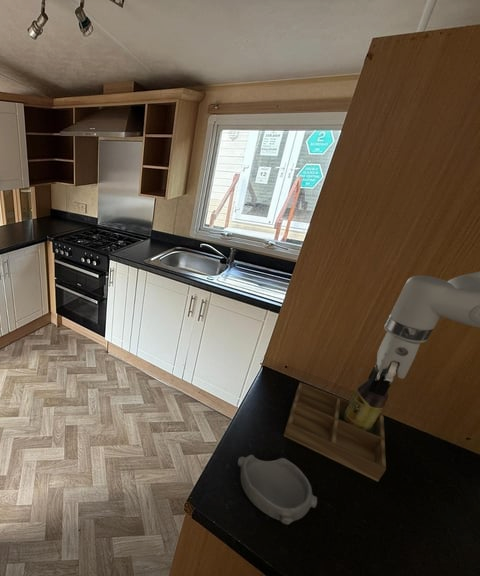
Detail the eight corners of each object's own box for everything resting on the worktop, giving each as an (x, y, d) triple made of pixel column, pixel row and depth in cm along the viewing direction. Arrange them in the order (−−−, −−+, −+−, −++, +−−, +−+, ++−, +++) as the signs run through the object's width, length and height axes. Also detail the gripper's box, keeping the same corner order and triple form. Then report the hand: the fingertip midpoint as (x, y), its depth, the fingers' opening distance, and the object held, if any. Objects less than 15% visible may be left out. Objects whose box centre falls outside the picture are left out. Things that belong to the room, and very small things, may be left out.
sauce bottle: (339, 413, 91) (365, 359, 82) (365, 421, 88) (395, 366, 80) (343, 430, 85) (371, 373, 77) (371, 439, 83) (404, 382, 74)
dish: (227, 469, 76) (231, 455, 74) (276, 458, 79) (281, 445, 77) (267, 536, 64) (274, 522, 61) (324, 520, 66) (333, 507, 64)
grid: (295, 393, 99) (300, 382, 97) (376, 426, 88) (383, 414, 86) (283, 435, 85) (288, 424, 83) (378, 481, 74) (386, 469, 72)
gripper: (435, 352, 64) (396, 415, 72) (425, 318, 76) (393, 375, 84) (387, 338, 68) (356, 399, 76) (385, 308, 80) (358, 364, 88)
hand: (375, 386), depth 80 cm, fingers closed on sauce bottle, 4 cm apart
